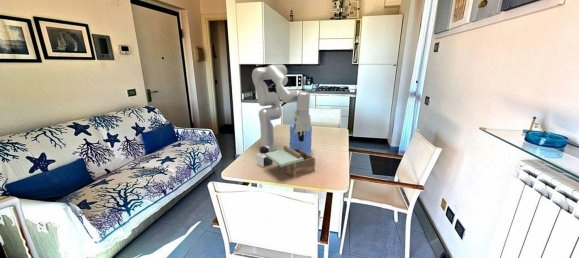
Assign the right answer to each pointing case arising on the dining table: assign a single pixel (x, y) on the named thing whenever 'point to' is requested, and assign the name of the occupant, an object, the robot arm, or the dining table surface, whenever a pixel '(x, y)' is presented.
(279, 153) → the lid
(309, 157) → the wooden box
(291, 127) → the water jug
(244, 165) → the dining table surface
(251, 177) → the dining table surface
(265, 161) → the medicine bottle
